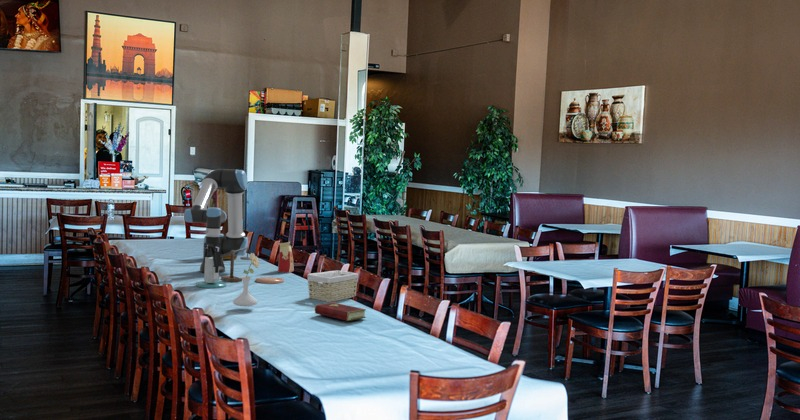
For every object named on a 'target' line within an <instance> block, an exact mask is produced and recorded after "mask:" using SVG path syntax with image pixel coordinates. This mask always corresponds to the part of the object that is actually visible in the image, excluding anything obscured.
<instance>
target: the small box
mask: <svg viewBox="0 0 800 420" xmlns="http://www.w3.org/2000/svg"><path fill="white" fill-rule="evenodd" d="M213 266H214V261H213V257H205V272H203V273H204V275H203V278H204V279H203V282H204V281H206V282H207V283H218V282H220V281H219V279H220V278H219V277H220V273H218V279H213Z"/></svg>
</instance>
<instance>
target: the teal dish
mask: <svg viewBox="0 0 800 420" xmlns="http://www.w3.org/2000/svg"><path fill="white" fill-rule="evenodd" d="M195 287H197V288H202V289H222V288H225V287H227V282H223V281H219V282H218V283H207V282H206V281H204V280H203V281H199V282H196V283H195Z"/></svg>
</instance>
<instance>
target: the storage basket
mask: <svg viewBox="0 0 800 420" xmlns="http://www.w3.org/2000/svg"><path fill="white" fill-rule="evenodd" d="M358 280H359V274H358V272H352V271H345V270H336V269H335V270H329V271H324V272H323V271H321V272H313V273H307V285H308V288H307V289H308V298H309V299H312V300H313V299H314V300H318V301H323V302H327V303H332V302H336V301H341V300H345V299H349V298H354V297H356V296H357V288H358V287H357V286H358Z"/></svg>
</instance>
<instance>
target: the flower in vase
mask: <svg viewBox="0 0 800 420" xmlns="http://www.w3.org/2000/svg"><path fill="white" fill-rule="evenodd" d="M249 257H250V260H249V261H250V262H251V263H250V264H249V267H248V270H246V269H244V270H243V274H245V275H242V276H240V278H242V284H243V286H242V287H243V289H242V292H241V293H240V294H239V295H237V296H236V298H234V299H233V300H232V304H233V305H235V306H239V307H252V306H255V305H257V304H258V300H257V299H256V298H255V297H254V296H253V295H251V294H250V292H249V284H250V281H251V279H252V276H250V275H249V273H251V274H254V273H255V270H254V269H253V268H251V266H253V267H255V268H256V269H259V267H261V265H260V261H259V259H258V256H257V255H255V253H254V252H250V254H249Z"/></svg>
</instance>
